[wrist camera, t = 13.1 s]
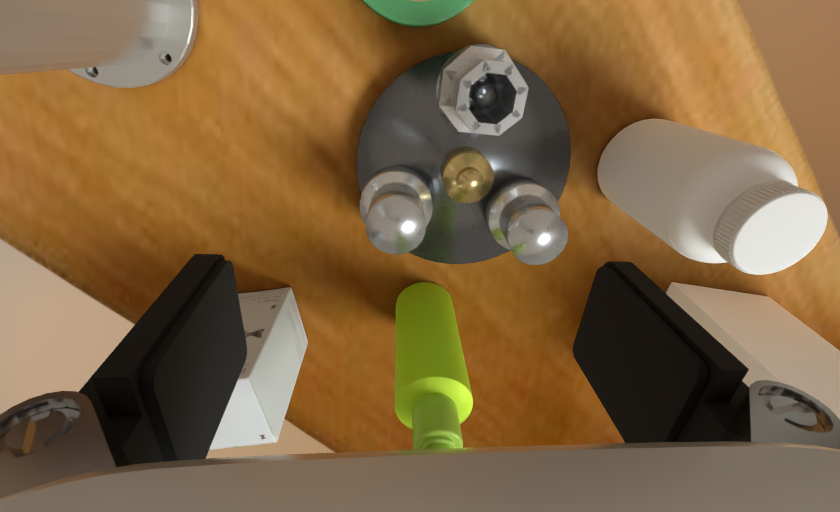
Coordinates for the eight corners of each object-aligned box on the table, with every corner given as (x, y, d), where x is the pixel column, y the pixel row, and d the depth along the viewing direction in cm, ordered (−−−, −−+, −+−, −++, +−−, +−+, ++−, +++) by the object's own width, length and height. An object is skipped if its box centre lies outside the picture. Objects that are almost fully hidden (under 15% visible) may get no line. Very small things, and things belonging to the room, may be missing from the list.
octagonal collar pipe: (444, 42, 30) (454, 42, 24) (521, 52, 30) (547, 54, 25) (433, 124, 32) (441, 140, 27) (504, 131, 33) (525, 149, 28)
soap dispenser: (385, 280, 40) (376, 467, 23) (454, 282, 41) (498, 465, 23) (385, 328, 43) (376, 527, 25) (449, 329, 44) (485, 525, 26)
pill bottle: (637, 220, 39) (763, 314, 25) (576, 177, 36) (678, 255, 23) (704, 149, 36) (885, 212, 22) (641, 97, 33) (802, 133, 20)
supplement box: (292, 284, 40) (251, 377, 29) (309, 342, 44) (278, 446, 32) (218, 292, 40) (148, 388, 29) (241, 350, 44) (186, 456, 32)
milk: (671, 282, 42) (1000, 569, 19) (768, 296, 44) (1181, 579, 21) (624, 368, 48) (836, 674, 25) (711, 379, 49) (989, 676, 26)
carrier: (312, 152, 34) (292, 177, 28) (490, -6, 30) (515, -19, 23) (441, 291, 41) (450, 336, 35) (601, 181, 37) (644, 210, 30)
